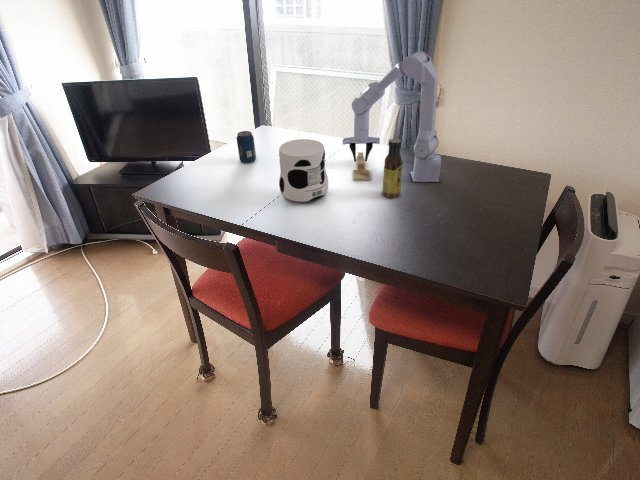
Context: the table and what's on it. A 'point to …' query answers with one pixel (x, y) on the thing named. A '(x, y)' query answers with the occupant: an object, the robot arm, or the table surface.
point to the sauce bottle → (393, 170)
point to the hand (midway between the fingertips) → (360, 160)
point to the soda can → (246, 147)
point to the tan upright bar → (361, 169)
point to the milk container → (302, 170)
